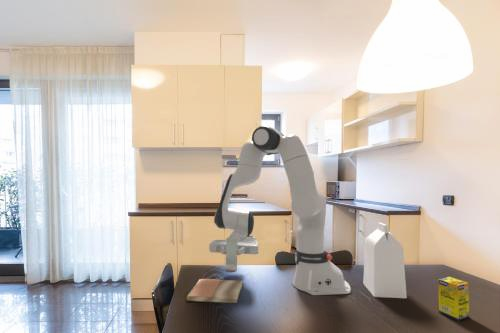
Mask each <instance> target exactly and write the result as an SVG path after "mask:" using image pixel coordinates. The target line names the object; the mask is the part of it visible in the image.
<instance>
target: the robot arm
mask: <svg viewBox="0 0 500 333" xmlns="http://www.w3.org/2000/svg"><path fill="white" fill-rule="evenodd" d="M277 154H279V156H280V158H281V161H282V165H283V167H284V170H285V174H286V176H287V180H288V186H289V194H290V199H291V210H292V212H293V214H294V215H295V216H297V217H299V218H298V224H297V228H296V249H295V254H294V255H295V256H294V258H295V261H294V262H295V273H294V277H293V280H292V281H293V282H292V285H293V286H294V288H296V289H298V290H300V291H303V292H305V293H308V294H309V295H311V296H327V295H347V294H350V293H351V292H352V289H351V286H350V284H349V282H347V281H346V280H345V278H344V277H345V276H344V274H343V272H342V270H341V269H340V268H339V267H338V266H336V265H335V264H334V263H333V262H331V261H332V259H333V256H332V254H331V253H329V252H328V251H326V250H325V226H326V225H325V224H326V212H327V199H326V198H327V197H325V195H324V193H322V192H321V191H319V190H317V186H316V181H315V172H314V171H313V167H312V164H311V161H310V159H309V158H310V157H309V156H308V152H307V150H306V147H305V145H304V144H303V142H302V140H301V138H300V137H299V136H297V135H296V134H289V135H284V133H282V132H280V131H279V130H277V129H276V128H273V127H271V126H269V125H261V126H258V127H257V128H255V129H254V131H253V132H252V135H251V141H247V142H245V143H243V145H242V147H241V150H240V153H239V157H238V158H239V159H238V163H237V167H236V169H235V171H234V172H233V173H231V174H230V175H229V176H228V178H227V180H226V183H225V186H224V189H223V192H222V194H221V198H220V201H219V204H218V207H217V209H216V211H215V214H214V217H213V223H214V224H215V225H216V227H217V228H218V229H221V230H222V229H223V230H224V229H225V230H233V231H232V232H231V233H230V235H229V236H228V237H227V238H237V239H238V242H237V256H241V255H259V241H258V240H257V237H256V236H253V235H251V234H252V233H253V230H254V226H255V218H254V215H253V212H251V211H250V210H247V209H246V210H245V209H239V208H232V207H229V204H230V200H231V198H232V196H233V192H234V190H236V189H237V188H239V187H242V186H243V187H244V186H248V185H251V184H254V183H255V182H257V181H258V180H259V178H260V176H261V172H262V168H263V167H262V166H263V161H264V157H265V156H271V155H277ZM208 252H210V253H217V254H218V253H219V254H221V255H226V239H214V240H212V241H211V242H209V246H208Z"/></svg>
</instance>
